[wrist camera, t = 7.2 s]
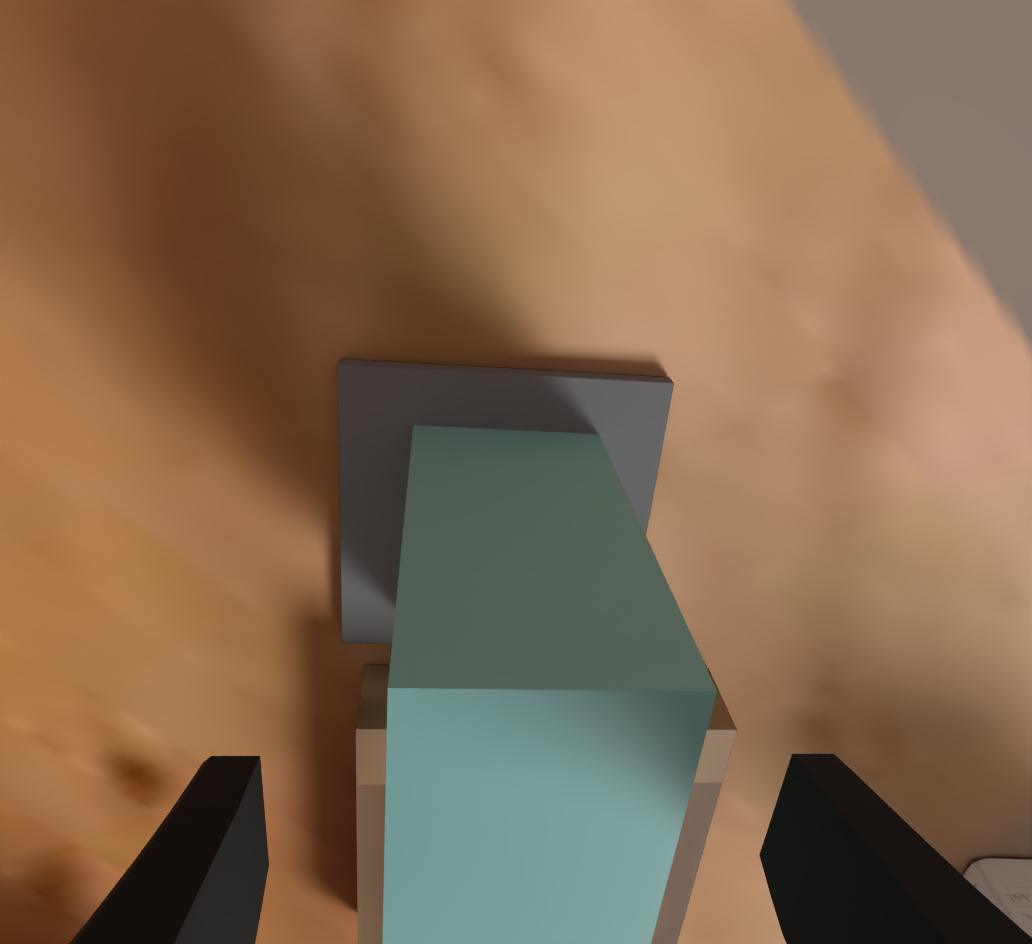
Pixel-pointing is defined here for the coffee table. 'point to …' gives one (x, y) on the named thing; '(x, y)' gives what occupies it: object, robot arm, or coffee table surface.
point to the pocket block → (374, 791)
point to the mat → (469, 404)
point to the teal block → (532, 700)
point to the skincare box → (1006, 887)
